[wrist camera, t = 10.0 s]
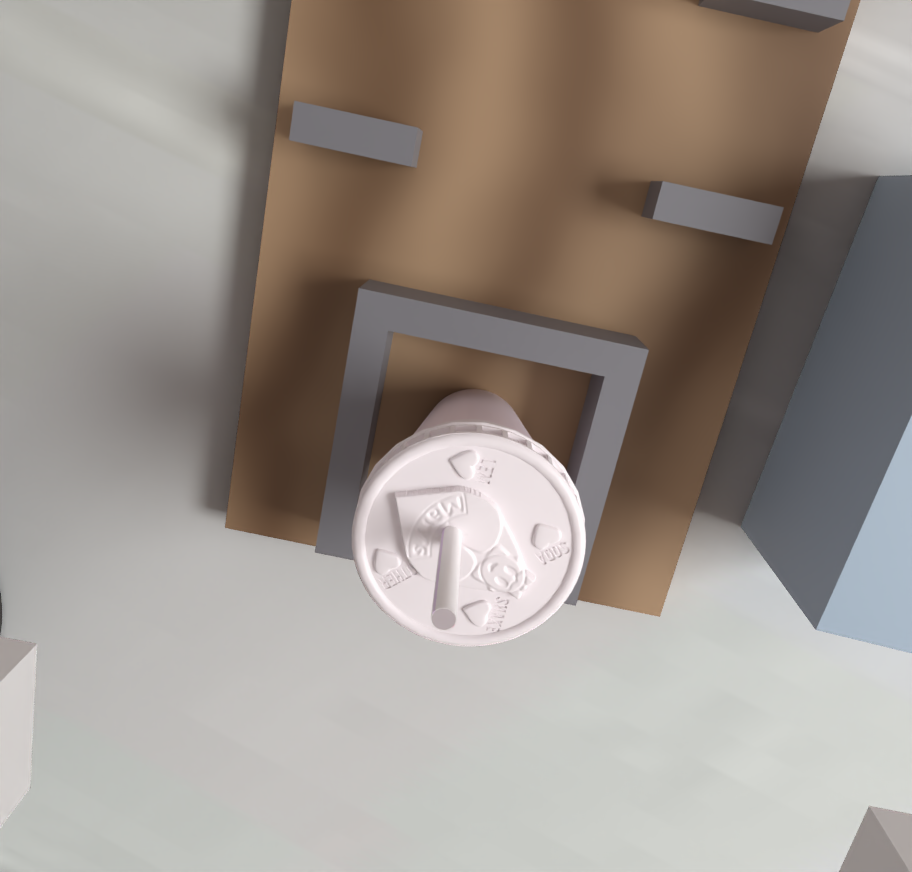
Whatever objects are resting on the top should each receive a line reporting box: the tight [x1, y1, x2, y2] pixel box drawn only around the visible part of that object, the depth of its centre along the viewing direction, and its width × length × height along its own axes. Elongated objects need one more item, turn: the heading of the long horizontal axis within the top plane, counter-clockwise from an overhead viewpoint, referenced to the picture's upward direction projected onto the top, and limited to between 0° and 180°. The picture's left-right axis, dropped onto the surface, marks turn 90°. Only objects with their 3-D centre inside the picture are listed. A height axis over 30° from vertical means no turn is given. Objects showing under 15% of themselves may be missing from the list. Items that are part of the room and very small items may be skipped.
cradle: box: [315, 279, 649, 606], centre depth 29 cm, size 10×10×2 cm
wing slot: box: [289, 0, 851, 245], centre depth 25 cm, size 16×8×2 cm, turn 78°
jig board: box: [225, 0, 860, 617], centre depth 28 cm, size 18×28×1 cm, turn 168°
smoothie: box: [352, 389, 586, 646], centre depth 24 cm, size 6×6×14 cm
